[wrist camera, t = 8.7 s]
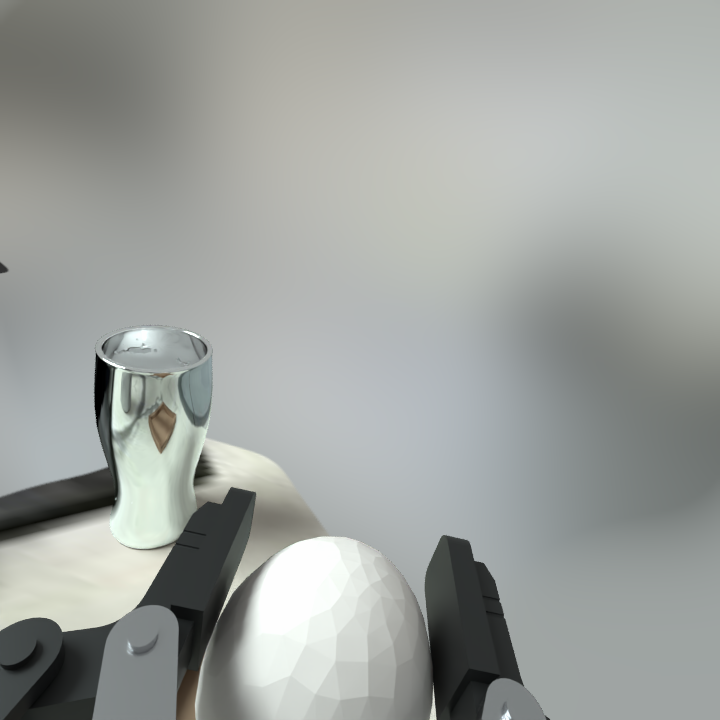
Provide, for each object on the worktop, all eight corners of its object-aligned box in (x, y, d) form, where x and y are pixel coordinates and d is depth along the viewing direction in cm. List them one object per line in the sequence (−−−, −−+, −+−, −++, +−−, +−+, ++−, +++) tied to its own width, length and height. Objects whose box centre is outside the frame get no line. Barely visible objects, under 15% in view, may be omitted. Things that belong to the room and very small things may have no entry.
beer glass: (134, 477, 34) (131, 315, 28) (215, 492, 35) (230, 337, 28) (80, 545, 28) (60, 356, 21) (180, 563, 28) (189, 384, 22)
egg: (138, 770, 11) (139, 589, 8) (285, 602, 16) (321, 452, 13) (313, 995, 8) (416, 868, 5) (420, 714, 13) (505, 564, 10)
